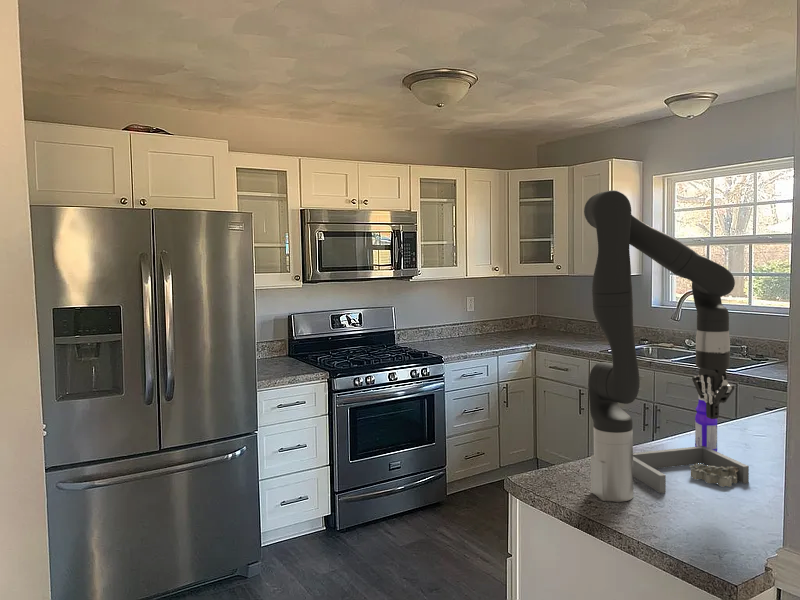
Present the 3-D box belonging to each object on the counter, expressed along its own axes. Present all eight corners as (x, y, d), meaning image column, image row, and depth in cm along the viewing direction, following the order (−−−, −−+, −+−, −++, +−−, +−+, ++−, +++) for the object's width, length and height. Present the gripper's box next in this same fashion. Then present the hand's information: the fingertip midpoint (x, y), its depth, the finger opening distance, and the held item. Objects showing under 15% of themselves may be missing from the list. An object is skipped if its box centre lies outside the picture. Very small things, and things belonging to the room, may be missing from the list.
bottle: (720, 456, 180) (720, 397, 179) (699, 456, 181) (699, 397, 180) (712, 449, 187) (712, 392, 186) (692, 448, 188) (692, 392, 187)
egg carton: (741, 483, 161) (741, 467, 160) (726, 490, 156) (726, 474, 156) (701, 471, 169) (701, 457, 169) (686, 478, 165) (686, 463, 165)
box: (660, 493, 155) (660, 475, 155) (623, 469, 172) (623, 454, 172) (748, 483, 159) (748, 466, 159) (703, 461, 177) (703, 445, 176)
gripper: (682, 345, 158) (682, 412, 159) (717, 353, 145) (716, 426, 146) (708, 344, 159) (708, 410, 160) (745, 351, 146) (745, 423, 147)
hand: (712, 418), depth 153 cm, fingers closed
